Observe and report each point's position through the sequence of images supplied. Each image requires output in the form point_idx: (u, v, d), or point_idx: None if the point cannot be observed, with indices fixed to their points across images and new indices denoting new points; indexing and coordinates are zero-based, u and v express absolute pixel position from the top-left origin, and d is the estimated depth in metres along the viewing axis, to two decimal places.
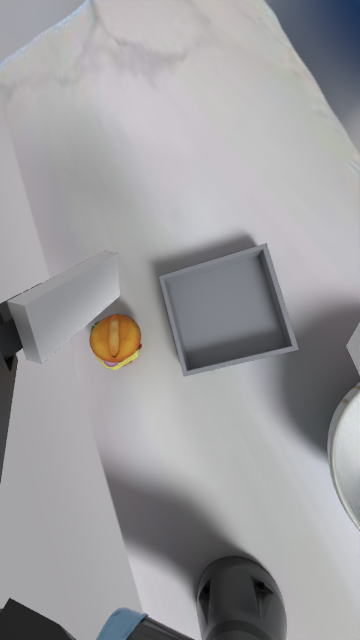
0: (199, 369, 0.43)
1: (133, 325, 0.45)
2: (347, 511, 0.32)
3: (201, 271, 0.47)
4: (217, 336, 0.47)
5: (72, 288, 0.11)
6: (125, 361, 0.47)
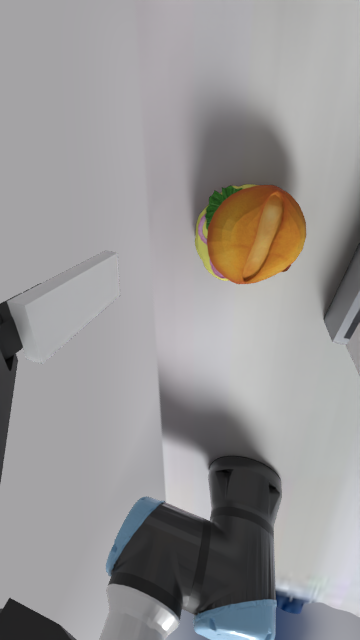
0: None
1: (304, 231, 0.22)
2: None
3: None
4: None
5: (72, 288, 0.11)
6: None
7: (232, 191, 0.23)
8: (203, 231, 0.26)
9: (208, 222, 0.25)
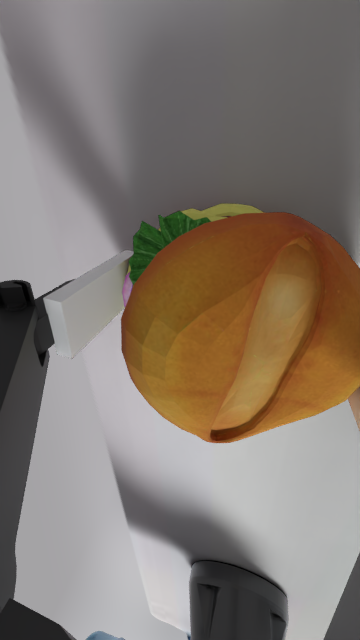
0: None
1: None
2: None
3: None
4: None
5: (99, 286, 0.11)
6: None
7: (184, 225, 0.09)
8: None
9: None
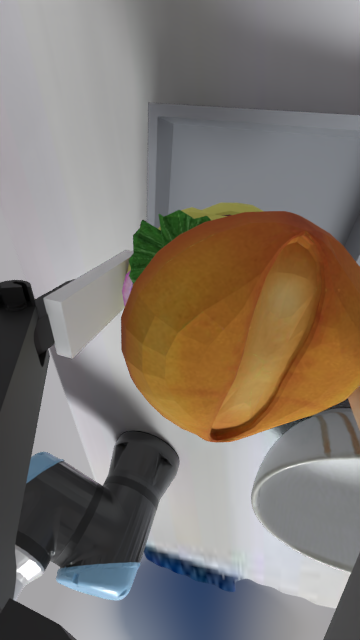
0: None
1: None
2: (252, 500, 0.32)
3: (247, 126, 0.20)
4: None
5: (99, 286, 0.11)
6: None
7: (184, 224, 0.09)
8: None
9: None
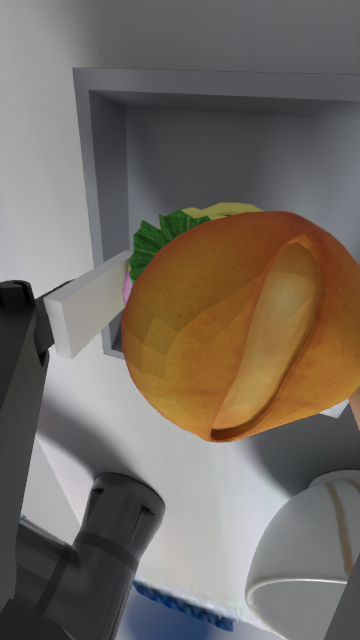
0: None
1: None
2: (246, 598, 0.25)
3: (228, 106, 0.13)
4: None
5: (99, 286, 0.11)
6: None
7: (184, 224, 0.09)
8: None
9: None
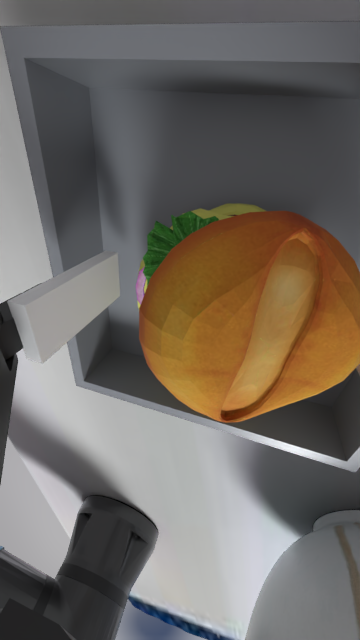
0: (111, 391, 0.18)
1: None
2: None
3: (217, 82, 0.10)
4: None
5: (72, 288, 0.11)
6: None
7: (194, 224, 0.10)
8: None
9: None
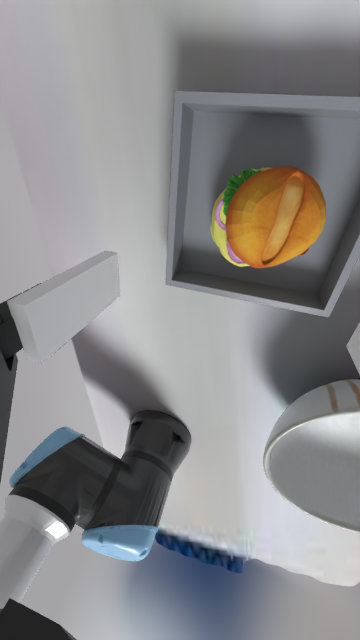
0: (188, 285, 0.31)
1: (325, 212, 0.22)
2: (264, 462, 0.34)
3: (262, 111, 0.23)
4: None
5: (72, 288, 0.11)
6: None
7: (251, 174, 0.23)
8: (220, 216, 0.26)
9: (226, 206, 0.25)
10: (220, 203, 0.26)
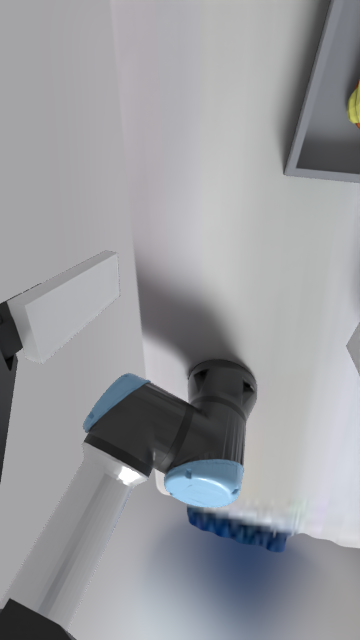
0: (315, 172, 0.28)
1: None
2: None
3: None
4: None
5: (72, 288, 0.11)
6: None
7: None
8: None
9: None
10: None
